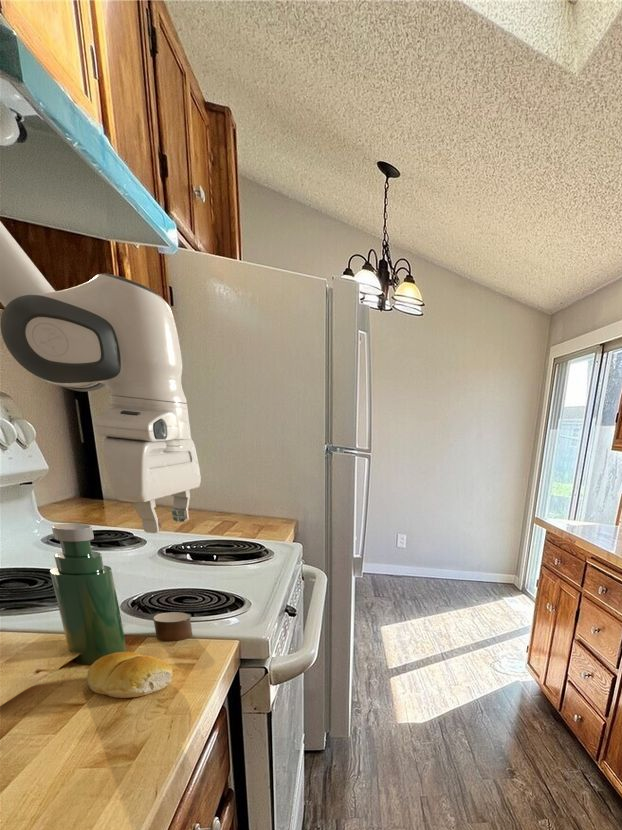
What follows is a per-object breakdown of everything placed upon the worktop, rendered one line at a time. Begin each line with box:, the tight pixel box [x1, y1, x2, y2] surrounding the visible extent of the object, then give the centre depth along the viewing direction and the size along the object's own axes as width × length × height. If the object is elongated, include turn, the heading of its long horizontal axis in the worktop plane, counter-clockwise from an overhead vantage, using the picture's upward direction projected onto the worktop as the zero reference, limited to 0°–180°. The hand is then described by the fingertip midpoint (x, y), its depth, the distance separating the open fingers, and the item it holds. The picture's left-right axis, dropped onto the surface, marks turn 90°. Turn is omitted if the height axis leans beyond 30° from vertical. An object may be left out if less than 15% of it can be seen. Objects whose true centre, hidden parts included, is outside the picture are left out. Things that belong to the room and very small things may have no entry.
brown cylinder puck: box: [152, 611, 193, 642], centre depth 85 cm, size 5×5×3 cm
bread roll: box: [86, 651, 173, 699], centre depth 69 cm, size 8×9×4 cm
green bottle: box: [49, 523, 128, 665], centre depth 73 cm, size 6×6×18 cm
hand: (167, 526), depth 81 cm, fingers open, 8 cm apart
